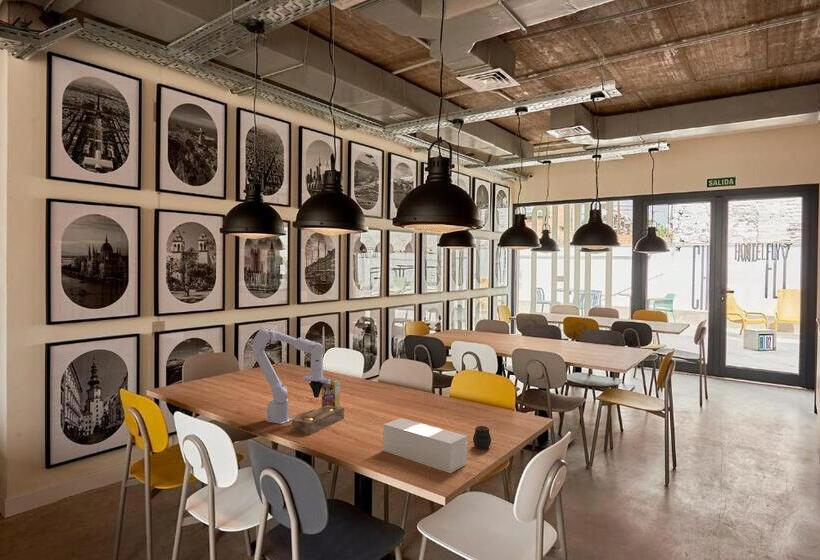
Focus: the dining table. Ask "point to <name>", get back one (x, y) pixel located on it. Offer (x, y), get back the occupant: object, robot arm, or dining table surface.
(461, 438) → the white box
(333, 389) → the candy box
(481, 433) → the mate gourd
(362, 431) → the dining table surface
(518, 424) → the dining table surface
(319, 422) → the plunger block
